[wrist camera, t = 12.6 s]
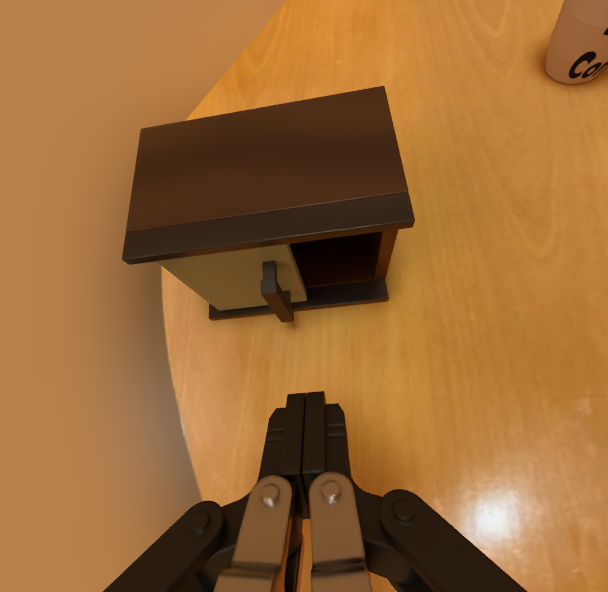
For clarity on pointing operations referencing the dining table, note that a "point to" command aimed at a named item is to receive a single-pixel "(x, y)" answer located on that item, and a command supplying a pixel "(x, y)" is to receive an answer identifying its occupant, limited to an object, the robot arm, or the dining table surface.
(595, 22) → the cup
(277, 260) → the door
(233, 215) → the cabinet
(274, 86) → the dining table surface
